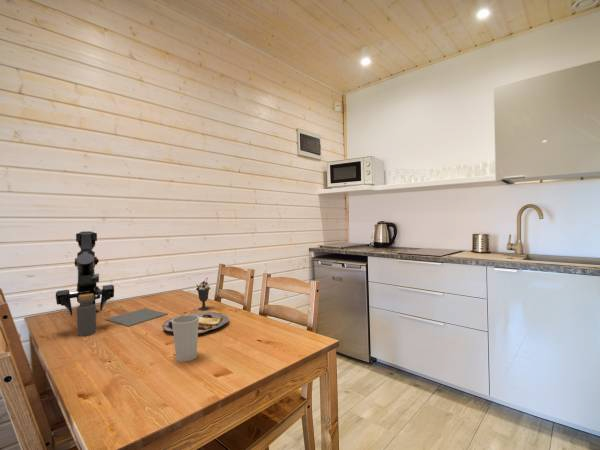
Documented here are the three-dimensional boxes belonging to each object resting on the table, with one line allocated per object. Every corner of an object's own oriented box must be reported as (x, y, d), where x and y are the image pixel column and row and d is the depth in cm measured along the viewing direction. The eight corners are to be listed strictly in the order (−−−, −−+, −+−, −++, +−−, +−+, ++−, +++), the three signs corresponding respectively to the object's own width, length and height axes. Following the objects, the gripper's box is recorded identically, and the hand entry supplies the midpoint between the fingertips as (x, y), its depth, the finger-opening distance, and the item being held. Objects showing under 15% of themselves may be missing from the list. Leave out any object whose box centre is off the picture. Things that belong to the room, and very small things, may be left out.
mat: (105, 319, 132) (105, 318, 132) (144, 309, 147) (144, 308, 147) (128, 326, 123) (128, 325, 123) (167, 314, 138) (167, 313, 138)
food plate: (149, 333, 115) (149, 324, 115) (187, 315, 137) (187, 307, 137) (207, 341, 108) (207, 331, 108) (237, 320, 130) (237, 312, 130)
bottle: (99, 330, 119) (98, 292, 118) (88, 336, 113) (87, 296, 113) (86, 330, 119) (85, 292, 119) (73, 336, 113) (72, 296, 113)
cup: (183, 365, 89) (182, 324, 89) (167, 359, 93) (166, 320, 93) (205, 354, 96) (204, 317, 95) (188, 349, 100) (188, 313, 100)
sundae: (213, 307, 148) (213, 277, 148) (204, 311, 142) (203, 279, 142) (203, 306, 151) (202, 276, 150) (193, 310, 144) (192, 278, 144)
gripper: (55, 270, 114) (52, 305, 105) (113, 265, 125) (115, 296, 116) (58, 287, 121) (55, 321, 112) (112, 281, 131) (114, 312, 122)
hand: (86, 312), depth 115 cm, fingers open, 9 cm apart
